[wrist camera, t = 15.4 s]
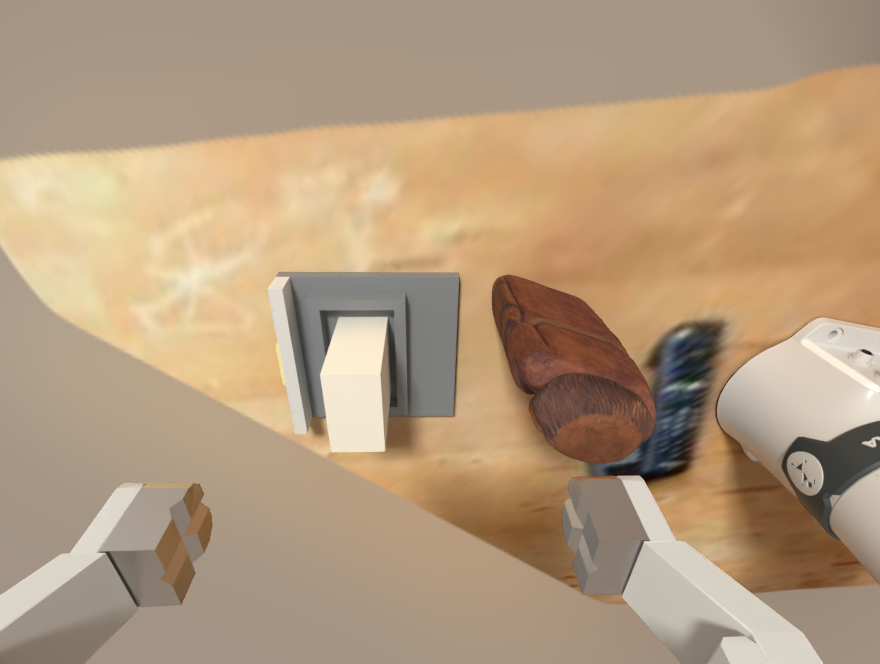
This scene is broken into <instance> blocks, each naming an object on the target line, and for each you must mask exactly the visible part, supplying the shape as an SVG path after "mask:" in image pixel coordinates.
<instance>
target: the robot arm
mask: <svg viewBox="0 0 880 664" xmlns="http://www.w3.org/2000/svg"><path fill="white" fill-rule="evenodd" d="M717 418H718V421H719V424H720V426H721V427H722V429H723V430H724V431H725V432H726V433H727V434H728V435H730V436H731V437H732V438H734V439H735V440H736V441H738V442H739V443H740V444H741V447H742V449H743V451H744V453H745V454H746V455H747V456H748V457H749V458H750V459H751V460H752V461H759V462H760V463H761V464H762V465H763V466H764V467H765V468H766V469H767V470H768V471H769V472H770V473H771V474H772V475H773V476H774V477H775V478H776V479H778V480H779V481H780V482H781V483H782V484H783V485H784V486H785V487H786V488H787V489H788V490H789V491H790V492H791V493H792V494H793V495H794V496H795V497H797V498H798V500H799V501H800V503H801V504H802V505H803V506H804V507H805V508H806V509H807V511H808V512H809V513H810V514H811V515H812V518H813V519H814V520H815V521H816V523H818V524H819V525H820V526H822V527H823V528H824V529H825V530H826V532H827V533H828V534H829V535H831V536H832V537H834V538H836V539H838V540H841V541H842V542H843V543H844V545H845V546H846V547H847V548H848V549H849V550H850V552H851V553H852V554H853V555H854V556H855V557H856V558H857V560H858V561H859V562H860V563H861V564H862V565H863V566H864V568H865V569H866V570H867V571H868V572H869V573H870V575H871V576H872V577H873V578H874V579H875V580H876V581H877V583H878V584H879V585H880V328H876V327H871V326H866V325H860V324H855V323H850V322H845V321H840V320H835V319H830V318H818V319H815V320H813V321H811V322H810V323H808V324H807V325H806V326H804V327H803V328H802V329H801V330H799V331H798V332H797V333H796V334H795V335H793V336H792V337H791V338H789V339H788V340H786V341H784V342H782V343H780V344H778V345H776V346H773V347H771V348H769V349H767V350H765V351H763V352H762V353H760V354H758V355H757V356H755V357H754V358H752V359H751V360H750V361H748V362H747V363H746V364H744V365H743V366H742V367H741V368H740V369H739V370H738V371H737V372H736V373H735V374H734V375H733V376H732V377H731V379H730V380H729V381H728V383H727V384H726V386H725V387H724V389H723V391H722V393H721V395H720V398H719V401H718V405H717ZM567 489H568V492H569V495H570V498H569V499H567V500H566V501H565V502H564V506H563V511H562V522H563V530H564V535H565V538H566V542H567V545H568V546H569V547H570V548H571V549H572V550H573V551H574V552H575V553H576V556H575V560H574V564H573V565H574V568H575V572H576V575H577V578H578V581H579V585H580V588H581V591H582V594H583V595H623V596H622V597H623V599H624V600H625V601H626V602H627V603H628V604H629V605H630V606H631V607H632V609H633V610H634V611H635V612H636V613H637V614H638V615H639V617H640V618H641V619H642V620H643V621H644V622H645V623H646V624H647V626H648V627H649V628H650V629H651V630H652V631H653V632H654V633H655V634H656V636H657V637H658V638H659V639H660V640H661V641H662V642H663V644H664V645H665V646H666V647H667V648H668V649H669V650H670V651H671V652H672V654H673V655H674V656H675V657H676V658H677V659H678V660H679V662H680V663H681V664H823V662H822V661H821V659H820V658H819V656H818V655H817V653H816V652H815V650H814V649H813V647H812V646H811V644H810V643H809V641H808V640H807V638H806V637H805V635H804V634H803V633H802V632H801V631H800V630H799V629H797V628H796V627H795V626H793V625H792V624H791V623H789V622H788V621H787V620H785V619H784V618H782V616H780V615H779V614H777V613H776V612H775V611H774V610H773V609H771V608H770V607H769V606H767V605H766V604H765V603H764V602H762V601H761V600H760V599H758V598H757V597H756V596H755V595H753V594H752V593H751V592H749V591H748V590H747V589H745V588H744V587H743V586H742V585H740V584H739V583H738V582H736V581H735V580H734V579H733V578H731V577H730V576H729V575H727V574H726V573H725V572H723V571H722V570H721V569H720V568H718V567H717V566H716V565H714V564H713V563H712V562H711V561H709V560H708V559H707V558H705V557H704V556H703V555H701V554H700V553H699V552H698V551H696V550H695V549H694V548H692V547H691V546H690V545H689V544H687V543H686V542H685V541H677V540H676V538H675V537H674V535H673V533H672V531H671V529H670V527H669V526H668V524H667V522H666V520H665V518H664V516H663V514H662V513H661V511H660V509H659V507H658V505H657V503H656V502H655V500H654V498H653V496H652V494H651V492H650V491H649V489H648V487H647V485H646V483H645V481H644V479H642V478H641V477H640V476H616V477H615V476H591V477H572V478H571V479H570V481H569V484H568V488H567ZM203 496H204V493H203V490H202V488H201V486H200V484H196V483H124V484H122V485H121V486H119V487H118V488H117V489H116V490H115V491H114V492H113V494H112V495H111V497H110V498H109V499H108V501H107V502H106V503H105V505H104V506H103V508H102V509H101V511H100V512H99V513H98V515H97V516H96V517H95V519H94V520H93V522H92V523H91V524H90V526H89V527H88V529H87V530H86V531H85V533H84V534H83V536H82V537H81V538H80V540H79V541H78V542H77V544H76V545H75V547H74V548H73V549H72V551H71V552H70V553H63V554H61V555H59V556H58V557H56V558H55V559H53V560H52V561H50V562H49V563H47V564H46V565H44V566H43V567H41V568H40V569H39V570H37V571H36V572H34V573H33V574H31V575H30V576H28V577H27V578H25V579H24V580H22V581H21V582H19V583H18V584H16V585H15V586H14V587H12V588H11V589H9V590H8V591H6V592H5V593H3V594H2V595H0V664H84V663H85V662H86V661H87V660H88V659H89V658H90V657H91V656H92V655H93V654H94V653H95V652H96V651H97V650H98V649H99V648H100V647H101V646H102V645H103V644H104V643H105V642H106V641H107V640H108V639H109V638H110V637H111V636H112V635H113V634H115V633H116V632H117V630H119V628H121V626H123V625H124V624H125V623H126V622H127V620H129V619H130V618H131V617H132V615H134V614H135V613H136V612H137V611H138V607H151V606H167V605H168V606H169V605H182V602H183V600H184V598H185V595H186V593H187V591H188V589H189V586H190V584H191V582H192V580H193V578H194V575H195V570H194V567H193V562H194V561H196V560H197V559H198V558H199V557H200V556H201V555H203V554H204V553H205V550H206V548H207V545H208V543H209V541H210V536H211V531H212V515H211V512H210V509H209V508H208V507H207V506H205V505H204V504H203V503H201V500H202V498H203Z"/></svg>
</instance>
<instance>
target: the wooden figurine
mask: <svg viewBox="0 0 880 664" xmlns="http://www.w3.org/2000/svg"><path fill="white" fill-rule="evenodd" d="M492 309H493V314H494V317H495V321H496V325H497V328H498V331H499V334H500V337H501V339H502V342H503V345H504V349H505V352H506V356H507V358H508V362H509V366H510V369H511V372H512V375H513V378H514V380H515V383H516V384H517V386H518V387H519V388H520V389H521V390H523V391H524V392H525V393H526V394H535V396H534V397H533V398H532V399H531V402H530V403H529V411H530V413H531V415H532V418H533V421H534V423H535V426H536V427H537V429H538V430H539V431H541V432H542V433H543V434H544V436H545V438H546V439H547V441H548V442H549V443H550V445H552V446H553V447H554V448H555V449H556V450H558V451H559V452H561V453H562V454H564V455H566V456H568V457H570V458H573V459H577V460H580V461H584V462H588V463H594V464H606V463H613V462H617V461H620V460H622V459H624V458H625V457H627V456H629V455H630V454H632V453H633V452H634V451H635V450H636V449H637V448H638V446H639V445H640V444H641V443H643V442H645V441H646V440H647V439H648V438H650V436H651V435H652V432H653V429H654V424H655V406H654V400H653V396H652V393H651V391H650V388H649V386H648V384H647V382H646V380H645V378H644V377H643V375H642V373H641V372H640V370H639V368H638V367H637V365H636V364H635V362H634V361H633V360H632V359H631V358H630V357H629V355H628V353H627V352H626V349H625V348H624V347H623V346H622V344H621V342H620V341H619V339H618V338H617V337H616V336H615V335H614V334H613V333H612V332H611V331H610V330H609V328H608V327H607V326H606V325H605V324H604V322H603V321H602V319H601V318H600V317H599V316H598V315H597V314H596V313H595V312H594V311H593V310H592V309H591V308H590V307H589V306H588V305H587V304H586V303H585V302H584V301H583V300H581V299H579V298H577V297H575V296H572V295H569V294H567V293H563V292H560V291H557V290H554V289H551V288H548V287H545V286H543V285H540V284H538V283H535V282H533V281H530V280H527V279H524V278H520V277H516V276H512V275H506V276H502V277H499V278H498V279H497V280H496V281H495V282H494V285H493V289H492Z"/></svg>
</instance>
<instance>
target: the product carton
mask: <svg viewBox="0 0 880 664" xmlns="http://www.w3.org/2000/svg"><path fill="white" fill-rule="evenodd" d="M320 378H321V385H322V392H323V399H324V405H325V412H326V419H327V426H328V433H329V440H330V446H331V452H380V451H385V448H386V437H387V426H388V416H389V405H390V394H391V370H390V350H389V329H388V317H339V318H338V321H337V324H336V327H335V330H334V333H333V336H332V339H331V342H330V345H329V349H328V352H327V355H326V358H325V361H324V364H323V367H322V370H321V373H320Z"/></svg>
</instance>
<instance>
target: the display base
mask: <svg viewBox="0 0 880 664" xmlns="http://www.w3.org/2000/svg"><path fill="white" fill-rule="evenodd" d="M267 290H268V295H269V300H270V305H271V311H272V316H273V321H274V326H275V331H276V336H277V344H276V351H277V356H278V361H279V366H280V371H281V377H282V382H283V385H286V388H287V393H288V399H289V404H290V409H291V414H292V419H293V425H294V430H295V434H308V430H309V427H310V424H311V421H312V417H326V412H325V405H324V399H323V392H322V385H321V378H320V373H321V370H322V367H323V364H324V361H325V358H326V355H327V352H328V349H329V345H330V342H331V339H332V336H333V333H334V330H335V327H336V324H337V321H338V318H339V317H388V329H389V350H390V370H391V394H390V405H389V416H453V409H454V386H455V363H456V340H457V317H458V294H459V273H367V272H279V273H278V274H277V276H276V277H275V279H274V280H273V282H272V283H271V285H270V286H269V288H268V289H267Z"/></svg>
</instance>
